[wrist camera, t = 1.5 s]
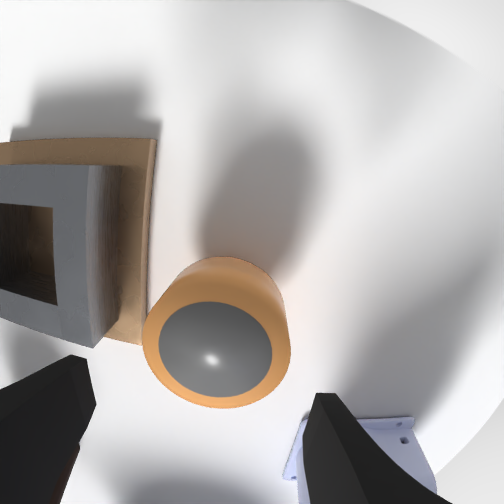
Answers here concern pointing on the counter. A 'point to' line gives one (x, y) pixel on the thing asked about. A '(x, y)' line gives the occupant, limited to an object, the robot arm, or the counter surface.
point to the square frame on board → (76, 236)
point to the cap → (219, 334)
